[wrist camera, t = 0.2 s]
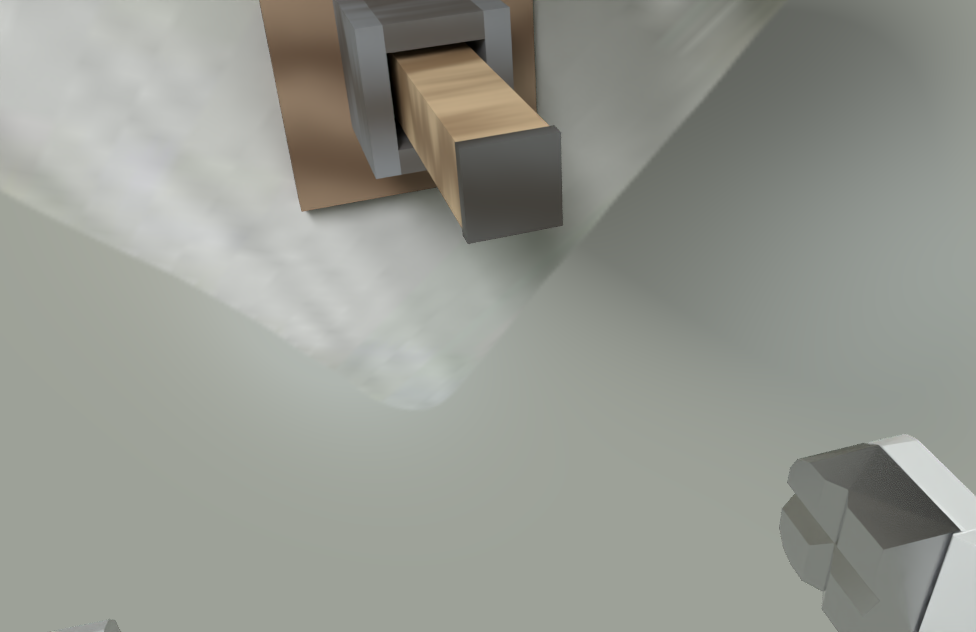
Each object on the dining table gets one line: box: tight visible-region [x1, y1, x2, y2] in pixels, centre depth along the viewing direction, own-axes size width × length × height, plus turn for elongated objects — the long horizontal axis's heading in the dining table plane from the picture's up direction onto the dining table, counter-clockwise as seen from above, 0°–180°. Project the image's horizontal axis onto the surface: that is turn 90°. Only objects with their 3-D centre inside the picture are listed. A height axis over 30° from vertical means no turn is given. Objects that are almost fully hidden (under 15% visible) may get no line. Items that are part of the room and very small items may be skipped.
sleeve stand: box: [259, 0, 537, 211], centre depth 51 cm, size 18×16×10 cm
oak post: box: [386, 42, 563, 244], centre depth 45 cm, size 4×4×21 cm
